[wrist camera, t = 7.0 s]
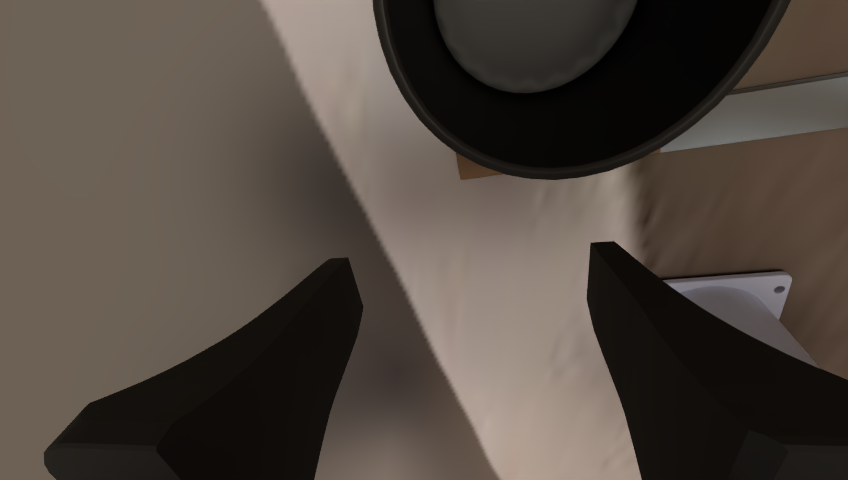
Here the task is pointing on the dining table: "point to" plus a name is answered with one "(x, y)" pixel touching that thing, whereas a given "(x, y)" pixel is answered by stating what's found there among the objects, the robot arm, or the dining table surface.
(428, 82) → the mug
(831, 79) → the wooden stick
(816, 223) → the dining table surface
